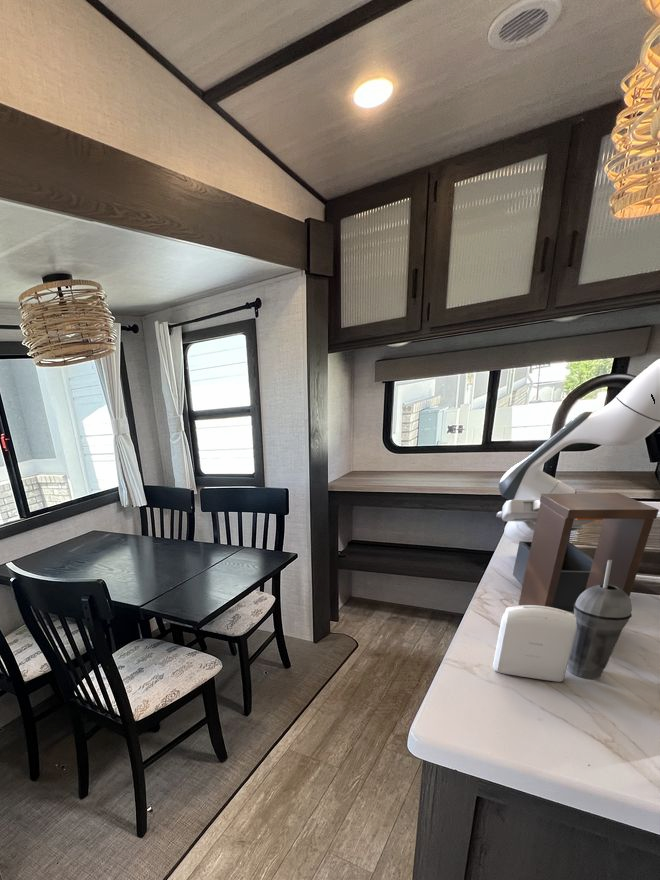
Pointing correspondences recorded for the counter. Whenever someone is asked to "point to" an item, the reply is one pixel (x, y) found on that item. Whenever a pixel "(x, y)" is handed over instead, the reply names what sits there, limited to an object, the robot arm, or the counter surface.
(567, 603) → the trash bin
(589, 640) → the beverage cup
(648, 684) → the counter surface
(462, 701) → the counter surface
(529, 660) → the photo printer
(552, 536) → the shelf stand
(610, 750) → the counter surface
